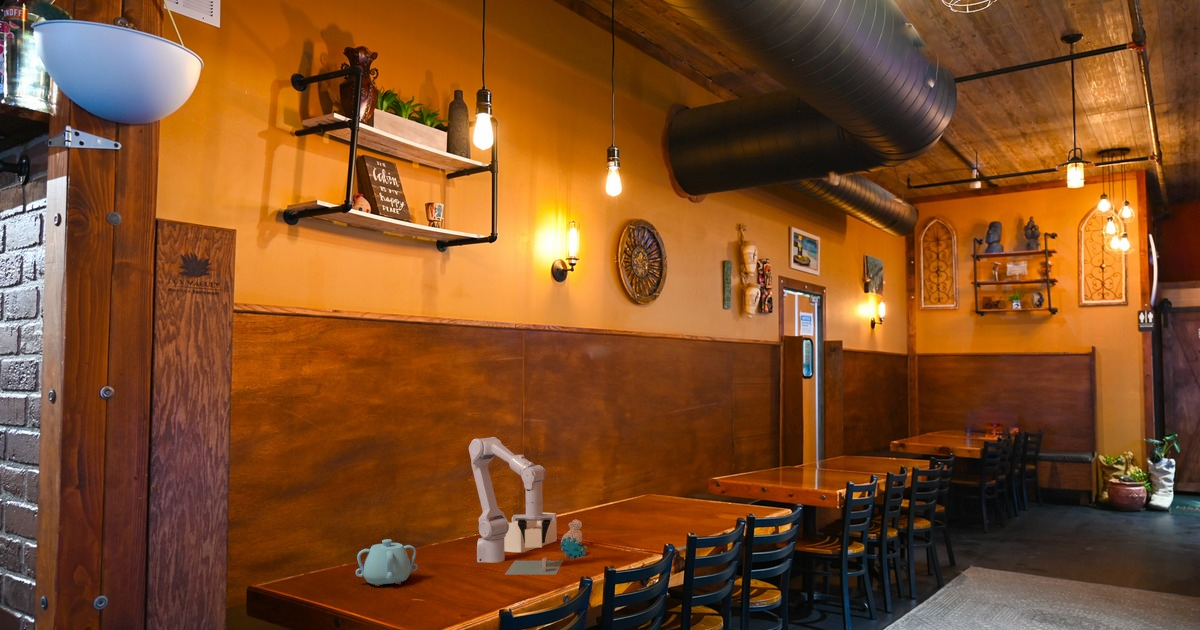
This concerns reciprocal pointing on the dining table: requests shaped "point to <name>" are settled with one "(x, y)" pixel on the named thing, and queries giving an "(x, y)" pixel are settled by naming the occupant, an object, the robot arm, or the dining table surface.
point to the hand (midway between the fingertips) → (534, 542)
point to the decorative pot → (386, 563)
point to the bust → (574, 531)
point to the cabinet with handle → (533, 537)
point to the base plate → (533, 568)
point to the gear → (573, 548)
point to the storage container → (515, 538)
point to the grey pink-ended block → (544, 564)
